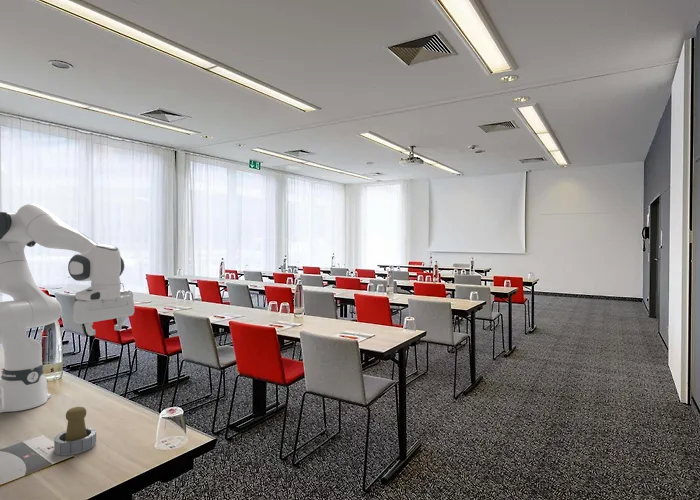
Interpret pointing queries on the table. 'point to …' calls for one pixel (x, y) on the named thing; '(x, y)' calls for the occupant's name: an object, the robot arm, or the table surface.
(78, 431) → the cork
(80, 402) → the table surface
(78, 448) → the faceted grey ring
